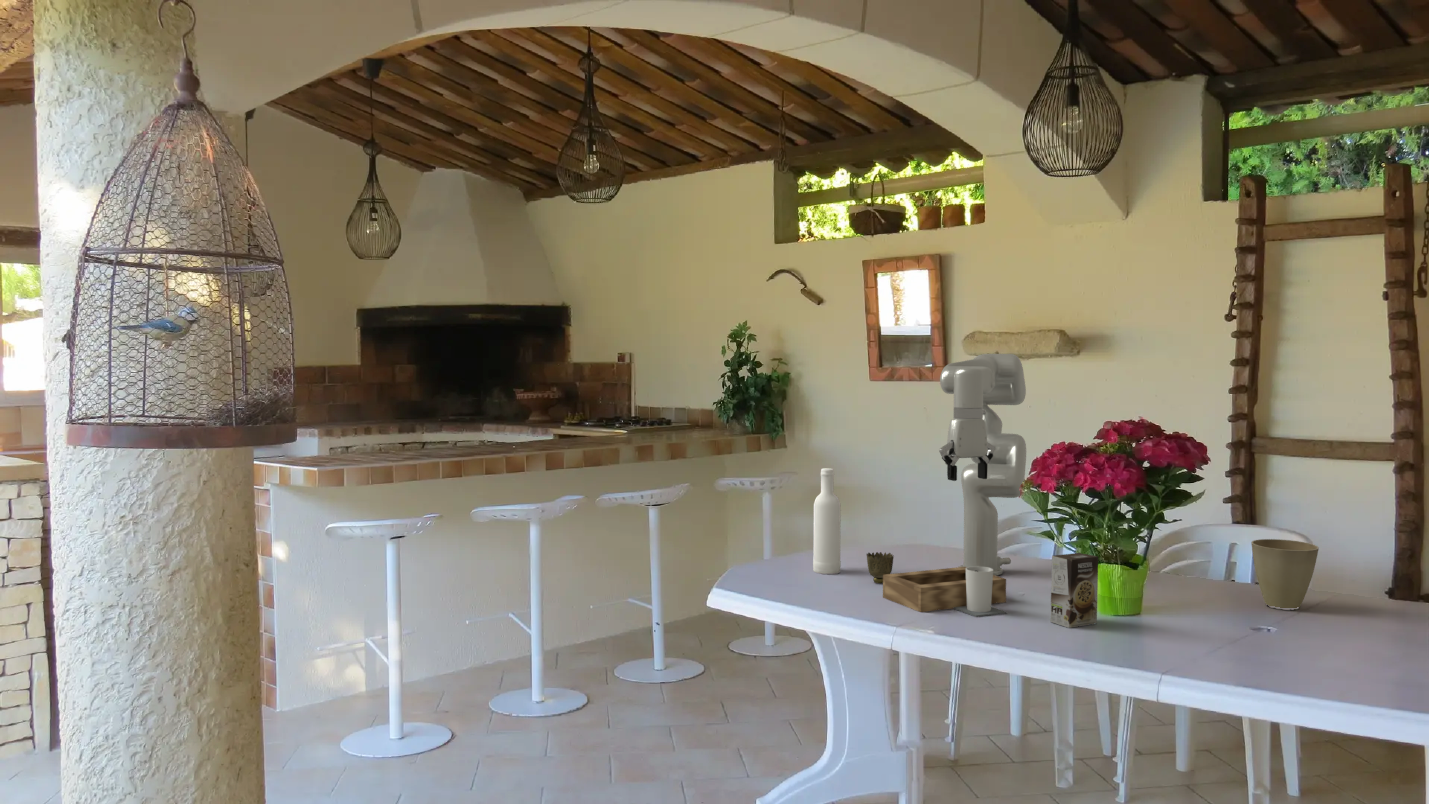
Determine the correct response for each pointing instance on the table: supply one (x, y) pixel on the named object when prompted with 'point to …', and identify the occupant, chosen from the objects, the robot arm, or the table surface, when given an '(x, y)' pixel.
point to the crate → (935, 589)
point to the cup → (879, 565)
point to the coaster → (978, 614)
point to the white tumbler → (979, 588)
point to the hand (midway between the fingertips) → (967, 479)
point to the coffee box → (1074, 590)
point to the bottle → (827, 527)
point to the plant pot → (1284, 570)
